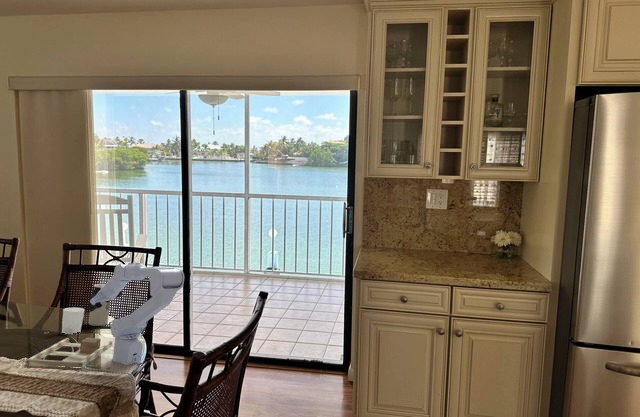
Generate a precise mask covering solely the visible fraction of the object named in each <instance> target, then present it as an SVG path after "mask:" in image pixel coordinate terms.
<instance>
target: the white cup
mask: <svg viewBox="0 0 640 417" xmlns="http://www.w3.org/2000/svg"><path fill="white" fill-rule="evenodd" d="M84 314H85V308H82V307H66V308H63V309H62V322H61V324H62V325H61V326H62V327H61V334H62V333H65V334H64V335H73V333H77V332H80V333H81V330H82V326H83V322H84V321H83V320H84Z"/></svg>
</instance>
